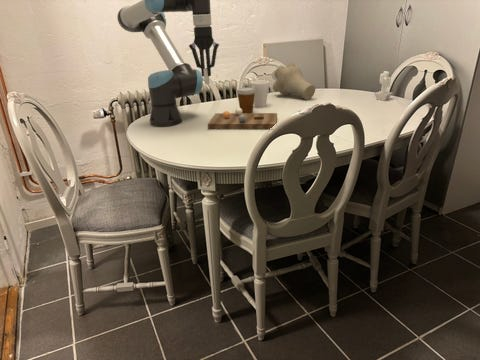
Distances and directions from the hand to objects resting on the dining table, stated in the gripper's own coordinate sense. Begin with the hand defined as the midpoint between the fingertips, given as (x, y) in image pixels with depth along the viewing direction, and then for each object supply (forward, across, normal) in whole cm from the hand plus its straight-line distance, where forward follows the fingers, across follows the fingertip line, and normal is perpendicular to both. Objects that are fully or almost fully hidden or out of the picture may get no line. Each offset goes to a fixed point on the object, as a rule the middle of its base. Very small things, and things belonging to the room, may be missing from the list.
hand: (207, 83), depth 157 cm
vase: (+19, +40, +54) cm, 70 cm away
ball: (+14, +8, 0) cm, 16 cm away
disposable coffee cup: (+19, +15, +20) cm, 31 cm away
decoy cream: (+14, +13, +6) cm, 20 cm away
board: (+18, +16, 0) cm, 24 cm away
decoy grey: (+14, +16, -6) cm, 22 cm away
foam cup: (+19, +21, +33) cm, 43 cm away
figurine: (+19, +88, +47) cm, 101 cm away
